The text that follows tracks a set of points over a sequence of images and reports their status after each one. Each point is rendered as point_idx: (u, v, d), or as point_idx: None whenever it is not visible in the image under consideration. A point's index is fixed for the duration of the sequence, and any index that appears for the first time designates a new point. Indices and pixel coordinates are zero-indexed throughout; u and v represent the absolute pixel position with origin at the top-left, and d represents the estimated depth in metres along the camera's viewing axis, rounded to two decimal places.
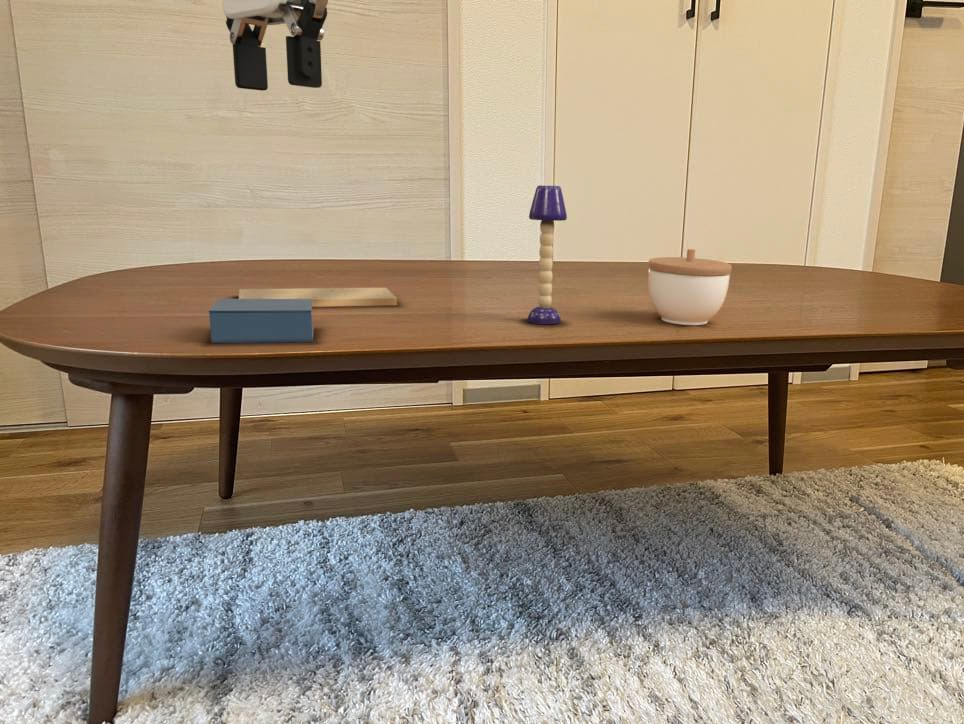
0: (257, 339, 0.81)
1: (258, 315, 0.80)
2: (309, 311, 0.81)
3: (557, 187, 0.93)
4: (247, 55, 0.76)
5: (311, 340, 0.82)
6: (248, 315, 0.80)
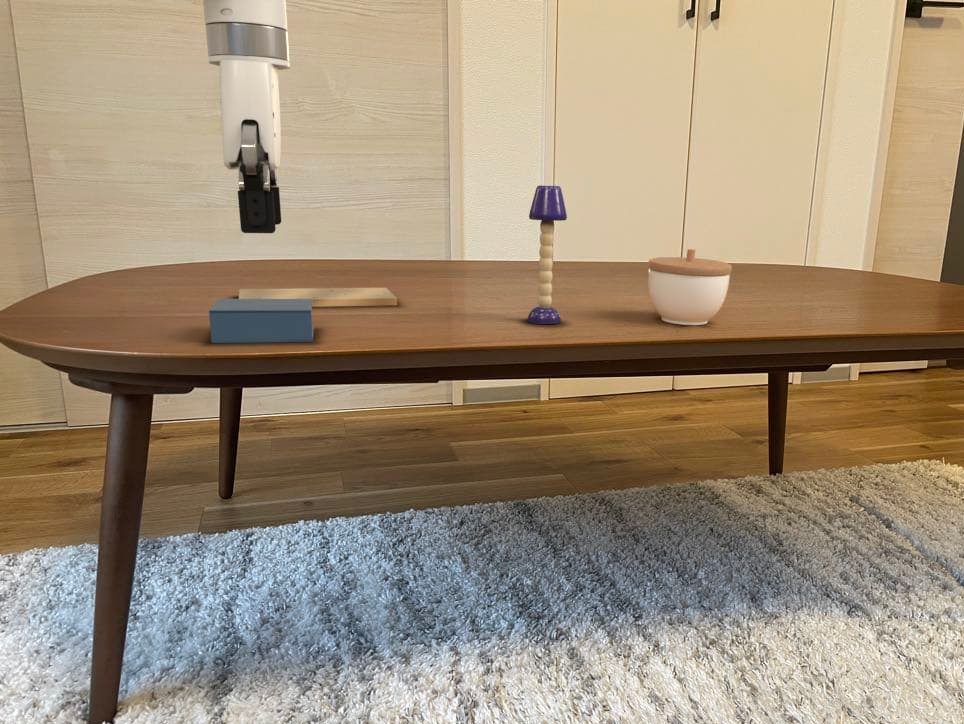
0: (257, 339, 0.81)
1: (257, 315, 0.80)
2: (309, 311, 0.81)
3: (557, 187, 0.93)
4: None
5: (311, 340, 0.82)
6: (248, 315, 0.80)
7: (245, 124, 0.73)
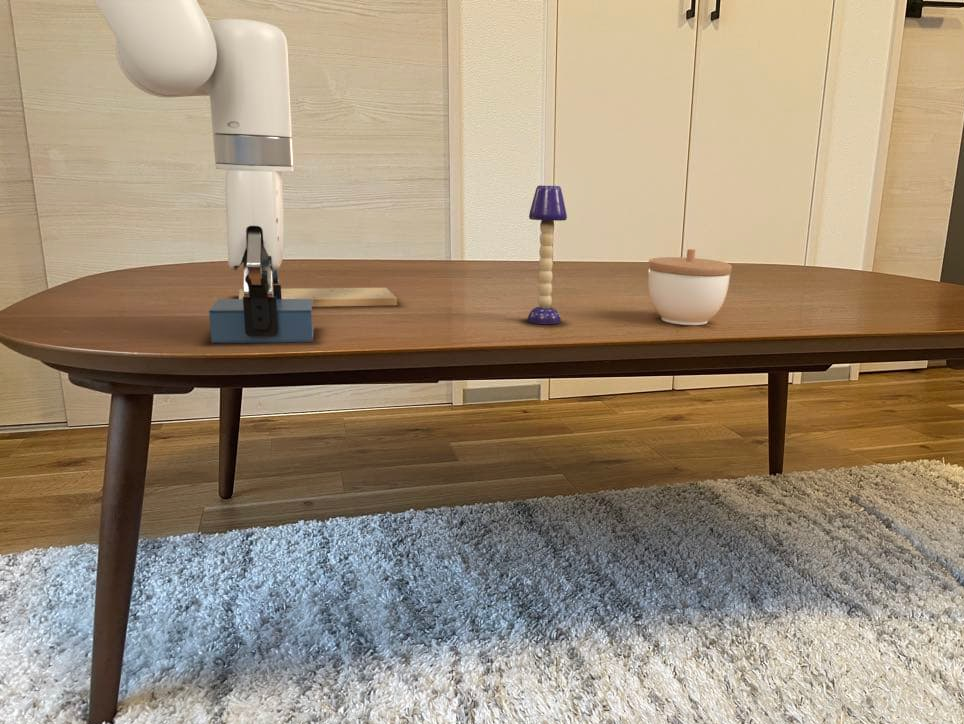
0: (257, 339, 0.81)
1: None
2: (309, 311, 0.81)
3: (557, 187, 0.93)
4: None
5: (311, 340, 0.82)
6: None
7: (250, 234, 0.76)
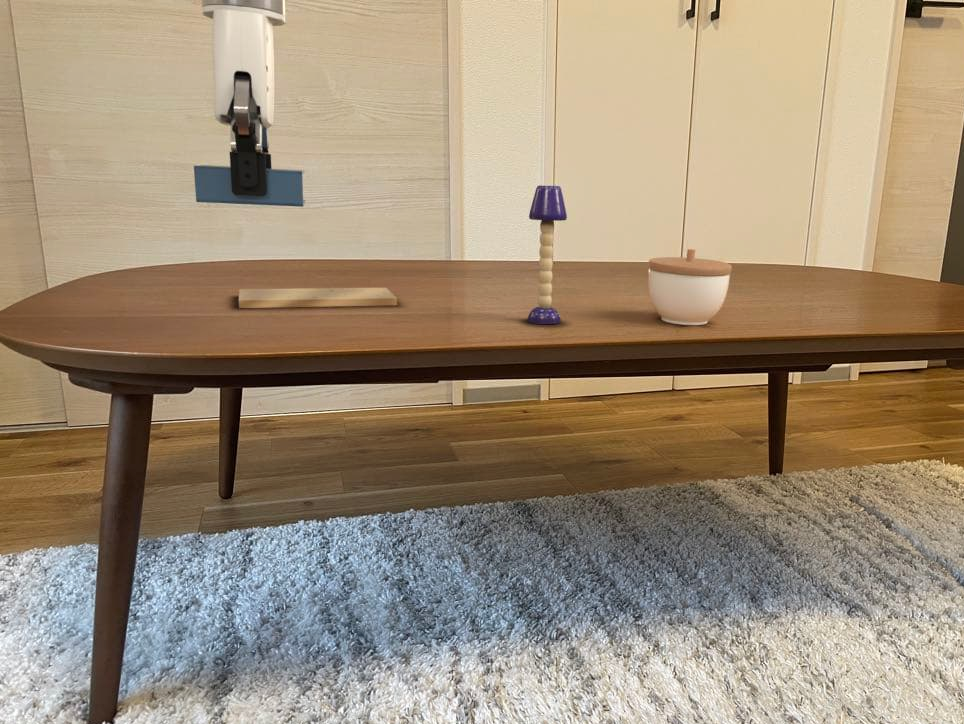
0: (244, 200, 0.77)
1: None
2: (300, 172, 0.77)
3: (557, 187, 0.93)
4: None
5: (302, 205, 0.78)
6: None
7: (238, 80, 0.72)
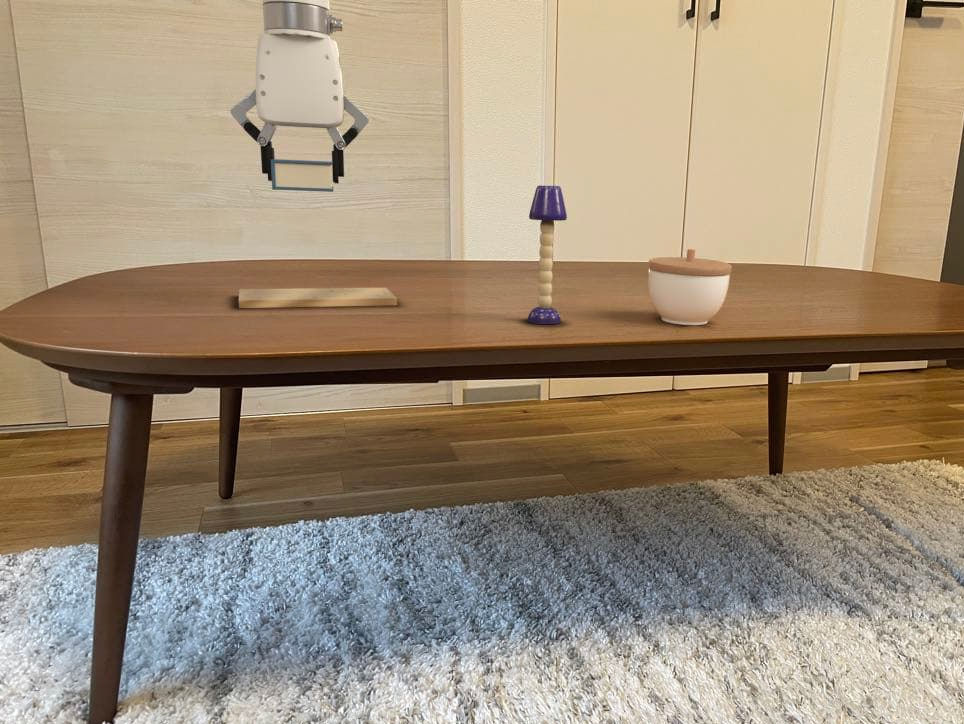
0: None
1: None
2: None
3: (557, 187, 0.93)
4: None
5: (272, 188, 0.92)
6: None
7: None
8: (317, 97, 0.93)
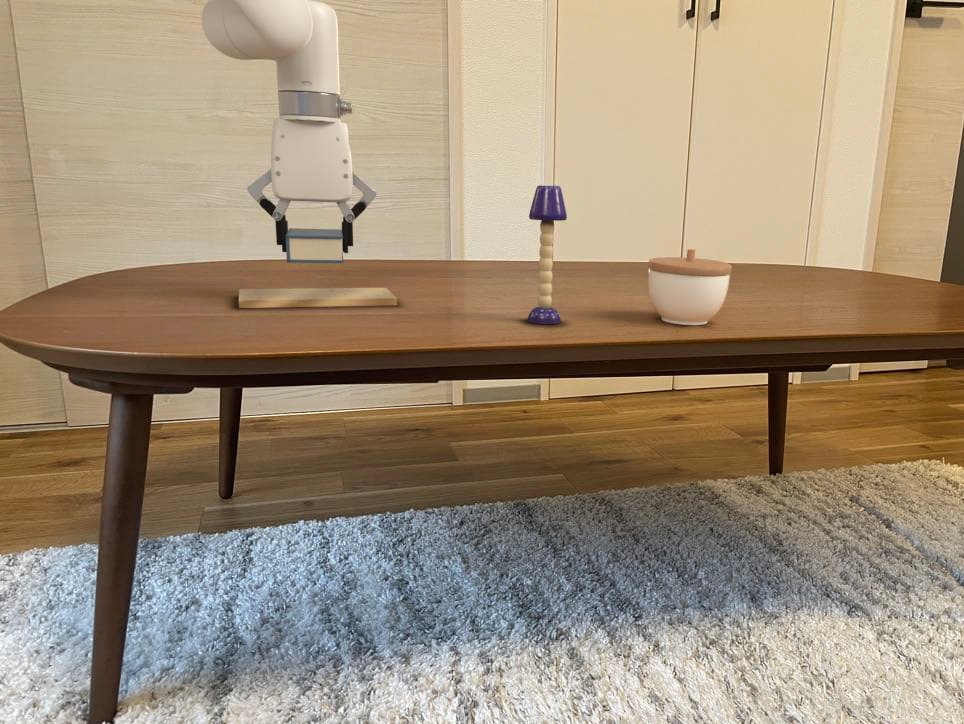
0: None
1: None
2: None
3: (557, 187, 0.93)
4: None
5: (287, 261, 0.98)
6: None
7: None
8: (328, 176, 0.99)
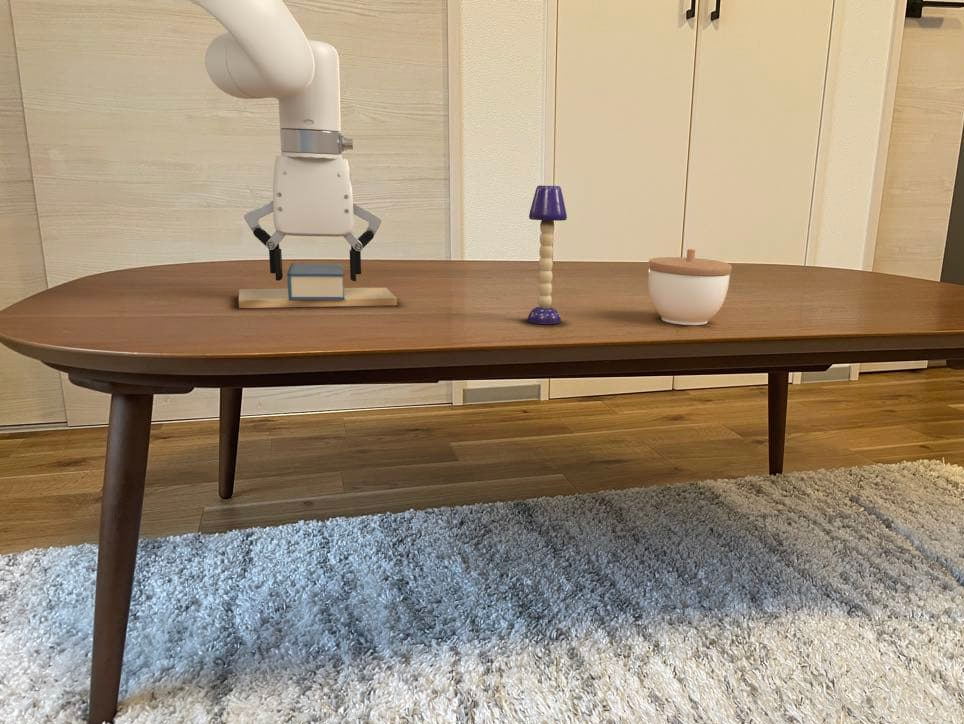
0: None
1: None
2: (287, 274, 0.99)
3: (557, 187, 0.93)
4: None
5: None
6: None
7: None
8: (329, 211, 1.00)
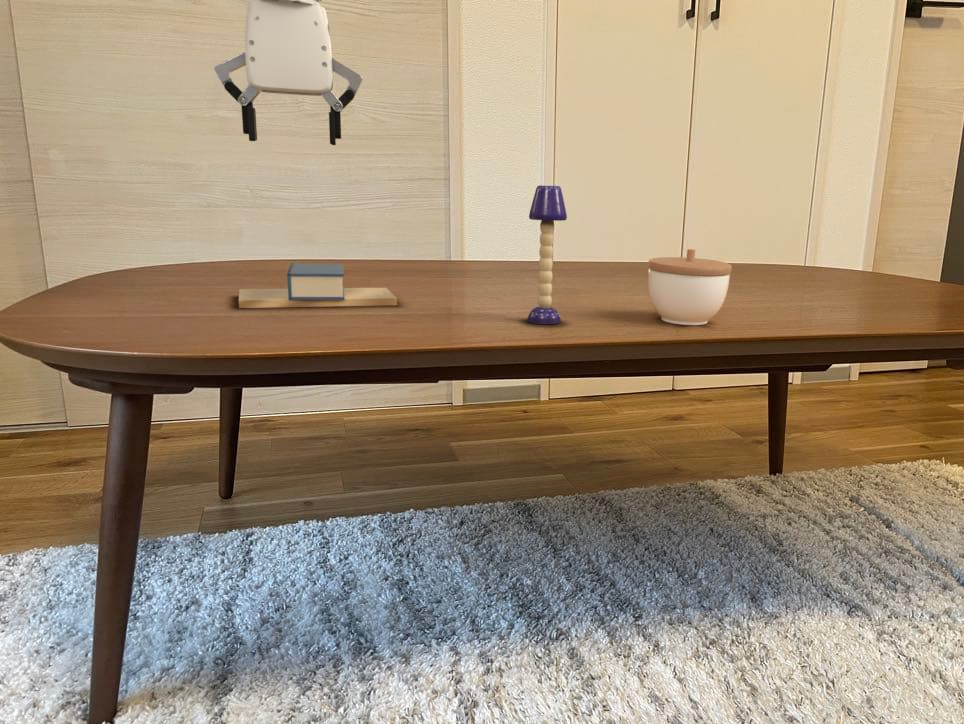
0: None
1: None
2: (287, 274, 0.99)
3: (557, 187, 0.93)
4: None
5: None
6: None
7: None
8: (306, 63, 0.94)
